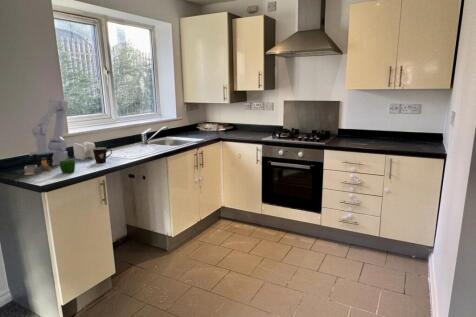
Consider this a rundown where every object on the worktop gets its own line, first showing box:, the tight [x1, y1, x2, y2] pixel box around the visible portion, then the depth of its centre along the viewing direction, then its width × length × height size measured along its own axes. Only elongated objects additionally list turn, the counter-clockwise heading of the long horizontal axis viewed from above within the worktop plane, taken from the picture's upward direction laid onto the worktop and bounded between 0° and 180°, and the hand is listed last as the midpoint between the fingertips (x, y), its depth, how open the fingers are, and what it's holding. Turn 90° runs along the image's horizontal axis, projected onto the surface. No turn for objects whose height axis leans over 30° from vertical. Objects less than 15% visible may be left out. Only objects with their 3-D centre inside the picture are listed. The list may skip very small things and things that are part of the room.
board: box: [23, 166, 53, 176], centre depth 201 cm, size 14×15×1 cm
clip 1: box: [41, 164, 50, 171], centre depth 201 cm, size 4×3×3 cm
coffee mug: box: [93, 146, 113, 165], centre depth 224 cm, size 12×9×10 cm
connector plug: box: [40, 157, 49, 169], centre depth 205 cm, size 3×3×7 cm
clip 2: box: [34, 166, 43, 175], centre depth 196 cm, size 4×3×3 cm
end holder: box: [24, 164, 38, 174], centre depth 199 cm, size 6×6×3 cm
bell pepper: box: [59, 156, 76, 175], centre depth 196 cm, size 8×8×10 cm
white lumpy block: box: [72, 141, 96, 161], centre depth 237 cm, size 15×11×12 cm
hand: (44, 165), depth 205 cm, fingers open, 6 cm apart
